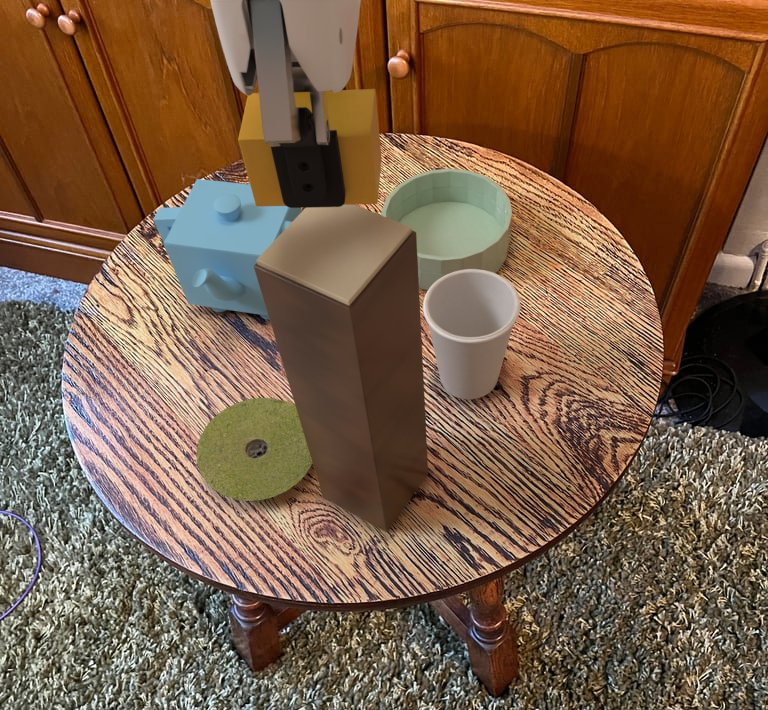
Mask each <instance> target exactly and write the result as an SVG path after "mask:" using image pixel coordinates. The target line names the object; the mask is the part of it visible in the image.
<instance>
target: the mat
mask: <svg viewBox="0 0 768 710" xmlns="http://www.w3.org/2000/svg"><path fill="white" fill-rule="evenodd" d="M195 454H196V464H197V467H198V470H199V473H200V476H201V478H202V479H203V480H204V481H205V483H206V484H207V485H208V486H209V487H210V488H212V490H213V491H216V492H217V493H218V494H220V495H222V496H224V497H227V498H228V499H233V500H236V501H245V502H248V501H249V502H256V501H258V502H260V501H263V500H267V499H272V498H273V497H277V496H279V495H281V494H283V493H286V492H287V491H288V490H291V488H293V487H294V486H295V485H297V484H298V483H299V482H301V481H302V479H303V478H304V477H305V476H306V474H307V473H308V472H309V470H310V469H311V467H312V465H313V462H312V459H311V456H310V453H309V449H308V446H307V443H306V439H305V436H304V433H303V429H302V426H301V423H300V419H299V416H298V413H297V409H296V406H295V403H291V402H289V401H288V400H287V401H286V400H283V399H279V398H272V397H256V398H248V399H245V400H241V401H239V402H236V403H234V404H232V405H230V406H228V407H226V408H224V409H223V410H222V411H220V412H219V413H218V414H216V415H215V416H214V417H213V418H212V419H211V420H210V421H209V422H208V423H207V425H205V428H204V429H203V431H202V433H201V435H200V437H199V440H198V443H197V447H196V453H195Z"/></svg>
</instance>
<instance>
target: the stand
mask: <svg viewBox="0 0 768 710" xmlns="http://www.w3.org/2000/svg"><path fill="white" fill-rule="evenodd" d="M254 270H255V273H256V276H257V280H258V283H259V286H260V290H261V293H262V296H263V300H264V303H265V306H266V310H267V313H268V316H269V319H268V320H269V323H270V326H271V330H272V332H273V335H274V339H275V342H276V346H277V349H278V352H279V356H280V359H281V363H282V366H283V369H284V372H285V376H286V380H287V383H288V386H289V389H290V393H291V395H292V400H293V402H294V403H293V404H294V405H295V406H296V409H297V413H298V416H299V419H300V423H301V426H302V429H303V433H304V436H305V439H306V443H307V446H308V449H309V453H310V456H311V459H312V462H313V463H312V465H313V469H314V472H315V476H316V479H317V482H318V485H319V489H320V492H321V495H322V498H323V499H325V500H327V501H329V502H331V503H332V504H334V505H336V506H338V507H340V508H341V509H343V510H345V511H347V512H349V513H350V514H352V515H354V516H356V517H358V518H359V519H360V520H363V521H365V522H366V523H369V524H370V525H373V526H374V527H375V528H378V529H380V530H381V531H383V532H385V533H388V532H389V530H390V529H391V527H392V526H393V525H394V523H395V522H396V521H397V519H398V518H399V517H400V515H401V514H402V512H403V511H404V510H405V508H406V506H407V505H408V504H409V502H410V501H411V500H412V498H413V497H414V495H415V494H416V493H417V491H418V489H419V488H421V486H422V483H423V482H424V481H425V480H426V478H427V477H428V475H429V458H428V439H427V438H428V437H427V436H428V435H427V419H426V400H425V399H426V398H425V379H424V359H423V340H422V337H423V336H422V322H421V319H422V318H421V300H420V288H419V277H418V257H417V237H416V232H415V231H412V228H411V227H409V226H407V225H404V224H402V223H399V222H397V221H394V220H392V219H389V218H387V217H384V216H382V215H381V214H379V213H377V212H374V211H371V210H369V209H366V208H364V207H361V206H358V204H352V205H343V206H341V207H312V208H303V210H302V212H301V213H300V214H299V215H298V216H297V217H296V219H295V220H294V221H293V222H292V223H291V224H290V225H289V226H288V227H287V228H286V229H285V230H284V231H283V232H282V233H281V234H280V235H279V236H278V238H277V239H276V240H275V241H274V242H273V243H272V244H271V245H270V246H269V247H268V248H267V249H266V250H265V251H264V252H263V253H262V254H261V255H260V257H259V258H258V259H257V263H256V264H255V265H254Z"/></svg>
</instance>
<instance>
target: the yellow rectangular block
mask: <svg viewBox="0 0 768 710" xmlns="http://www.w3.org/2000/svg"><path fill="white" fill-rule="evenodd" d="M325 92H326V100H327V108H328V117H329V125H330V130H337V136H338V143H339V150H340V157H341V164H342V171H343V179H344V186H345V193H346V196H345V203H344V205H352V204H354V205H378V203H379V192H380V181H381V169H382V145H381V137H380V136H381V135H380V126H379V125H380V124H379V113H378V102H377V101H378V100H377V90H376V88H365V89H364V88H363V89H361V88H360V89H346V90H341V91H340V92H338V93H333V92H332V91H325ZM294 99H295V105H296V107H307V108H308V109H309V110H310V111H311V112H312V107H311V99H310V92H294ZM239 129H240V130H239V134H238V138H237V140H238V145H239V148H240V153H241V155H242V160H243V163H244V168H245V171H246V174H247V179H248V183H249V182H250V186H251V190H252V193H253V197H254V201H255V205H256V206H286V205H285V204H284V202H283V199H282V194H281V190H280V185H279V181H278V177H277V172H276V168H275V164H274V159H273V155H272V150H271V146H270V144H266V143H265V141H264V136H263V129H262V119H261V109H260V99H259V92H253V93H252V94H251V95H249V96H248V95H247V98H246V102H245V108H244V112H243V116H242V120H241V124H240V128H239Z"/></svg>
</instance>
